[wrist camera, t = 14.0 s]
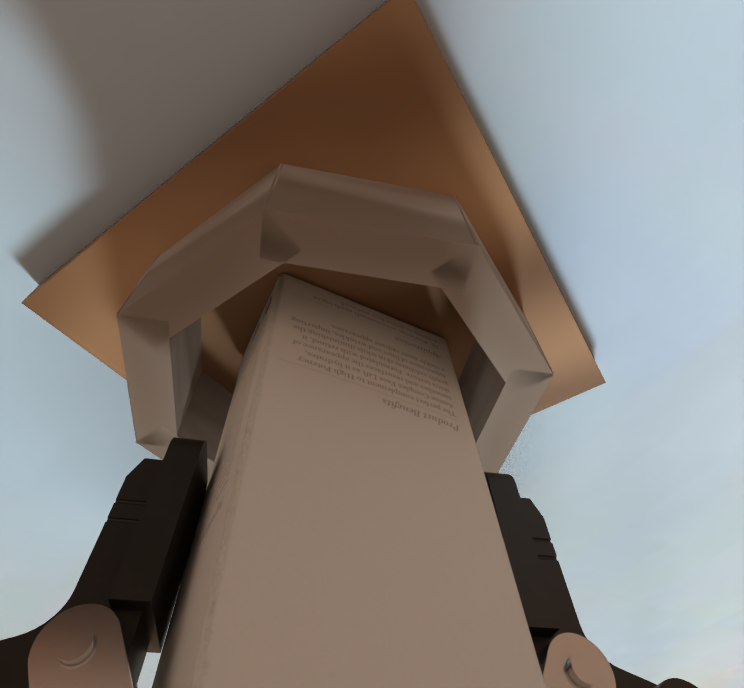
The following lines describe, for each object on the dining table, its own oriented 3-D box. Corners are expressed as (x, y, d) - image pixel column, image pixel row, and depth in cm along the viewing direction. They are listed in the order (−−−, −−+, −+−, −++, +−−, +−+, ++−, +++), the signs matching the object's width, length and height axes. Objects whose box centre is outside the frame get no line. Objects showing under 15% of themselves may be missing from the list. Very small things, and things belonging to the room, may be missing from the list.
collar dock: (594, 364, 18) (644, 446, 15) (307, 493, 23) (300, 576, 20) (404, -14, 11) (424, -8, 8) (38, 286, 16) (-43, 365, 12)
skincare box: (239, 363, 16) (67, 902, 7) (284, 258, 14) (115, 865, 4) (396, 417, 18) (433, 907, 9) (460, 331, 16) (611, 881, 6)
